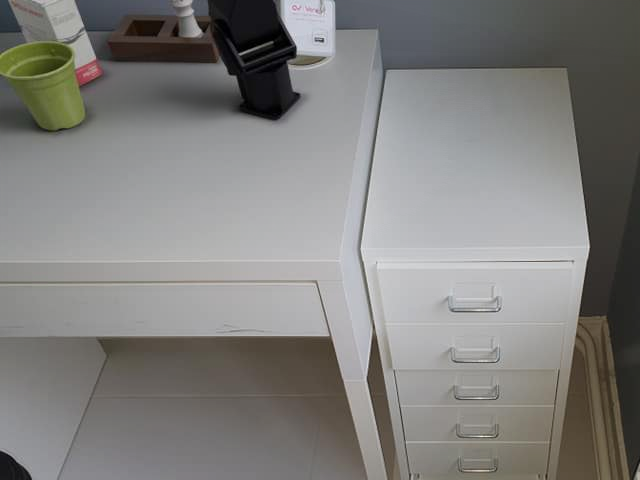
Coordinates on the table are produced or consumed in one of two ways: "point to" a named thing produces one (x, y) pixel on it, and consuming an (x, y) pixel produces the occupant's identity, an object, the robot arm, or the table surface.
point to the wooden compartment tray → (161, 40)
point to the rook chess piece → (186, 19)
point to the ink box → (58, 31)
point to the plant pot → (45, 82)
